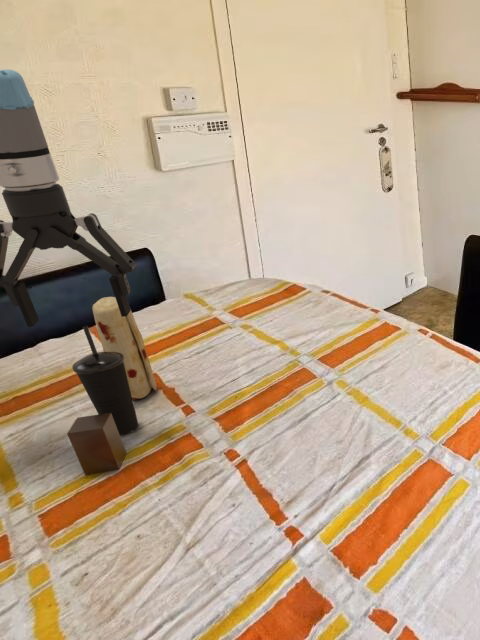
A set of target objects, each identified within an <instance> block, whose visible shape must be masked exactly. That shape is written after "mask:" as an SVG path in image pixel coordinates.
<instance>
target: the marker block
mask: <svg viewBox="0 0 480 640" xmlns="http://www.w3.org/2000/svg"><path fill="white" fill-rule="evenodd" d="M66 435H67V437H68V440H69V441H70V444H71V446H72V448H73V450H74V453H75V455H76V458H77V459H78V462H79V464H80V467H81V469H82V471H83V473H84V475H85V476H87V475H88V476H89V475H93V474H98V473H99V474H100V473H105V472H111V471H117V470H120V468H121V466H122V463H123V461H124V459H125V457H126V455H127V451H126V448H125V445H124V442H123V441H122V440H123V439H122V437H121V435H119V432H118V429H117V427H116V424H115V422H114V419H113V416H112V414H111V413H106V414H93V415H85V416H81V417H80V416H79V417H77V418H76V419H75V420H74V422H73V423H72V425H71V427H70V428H69V429H68V431H67V433H66Z"/></svg>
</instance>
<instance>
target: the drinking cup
mask: <svg viewBox="0 0 480 640" xmlns="http://www.w3.org/2000/svg"><path fill="white" fill-rule="evenodd" d="M82 329H83V332H84V335H85V337H86V340H87V343H88V345H89V347H90V350H91V352H92V353H90V354H87V355H85V356H83V357H82V358H81V359H78V360H77V361H75V362H74V363H73V364H72V366H71V368H72V371H73V372H74V373H75V374H76V375H77V377H78V379H79V381H80V382H81V384H82V386H83V388H84V390H85V392H86V395H88V398H89V400H90V402H91V403H92V406H93V407H94V410H96V413H97V415H99V414H106V413H111V414H112V416H113V419H114V422H115V424H116V427H117V429H118V432H119V435H120V436H124V435H127V434H130V433H132V432H134V431H136V430H137V429H138V427H139V421H138V417H137V412H136V409H135V404H134V400H132V396H131V391H130V387H129V383H128V379H127V375H126V370H125V366H124V362H123V361H124V356H123V354H121V353H118V352H104V351H98V350H97V348H96V344H95V343H94V340H93V337H92V335H91V332H90V329H89V326H88V325H84V326H82Z"/></svg>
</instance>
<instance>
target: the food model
mask: <svg viewBox="0 0 480 640" xmlns="http://www.w3.org/2000/svg"><path fill="white" fill-rule="evenodd" d="M91 309H92V315H93V318H94V322H95V326H96V329H97V334H98V337H99V340H100V344H101V346H102V347H101V348H102V350H103V352H118V353H121V354H123V356H124V361H123V362H124V366H125V370H126V375H127V379H128V383H129V387H130V391H131V396H132V400H133V401H135V400H141V399H143V398H145V397H146V396H148V395H149V394H150V392H151V391H152V389H153V391H156V390H157V388H158V387H157V382H156V378H155V375H154V372H153V369H152V366H151V362H150V359H149V356H148V352H147V349H146V346H145V341H144V339H143V336H142V333H141V331H140V329H139V326H138V324H137V322H136V319H135V317H134V314H133V311H132V310H131V311H130V312H129V314H128V315H127V316H124V317H122V316H121V313H120V310H119V307H118V304H117V301H116V298H115V296H106V297H101V298H100V299H98V300H97V301H96V302H95V303H94V304H92V307H91Z"/></svg>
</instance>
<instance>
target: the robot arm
mask: <svg viewBox="0 0 480 640" xmlns="http://www.w3.org/2000/svg"><path fill="white" fill-rule="evenodd" d="M29 92H30V91H29V89H28V87H27V85H26V82H25V79H24V78H23V76H22V75H21V74H20V72H18V71H16V70H14V69H0V187H1V188H4V189H3V190H2V192H1V196H2V197H3V200H4V202H5V206H6V207H7V211H8V213H9V214H10V216H11V220H12V222H10V221H9V222H8V221H4V220H3V219H0V286H1V287H3V288H4V290H5V292H6V295H7V297H8V299H9V302H10V303H11V305H12V306H13V307H19V309H20V313H21V315H22V316H23V319H24V321H25V323H26V327H27V328H30V327H34V326H35V325H37V323H38V322H39V321H40V318H39V316H38V314H37V311H36V308H35V306H34V303H33V301H32V298H31V296H30V293H29V291H28V288H27V286H26V284H25V282H24V281H23V282H18V281H19V278H20V276H21V275H22V273H23V271H24V269H25V267H26V265H27V264H28V261H29V260H30V258H31V256H32V255H33V253H34V251H35V250H36V249H39V250H40V251H43V250H49V249H64V248H65V247H69V248H70V249H71V250H74V251H76V252H78V253H79V254H81V255H83V256H84V257H86V259H88V260H90V261H91V262H93V263H94V264H96V265H97V266H98V267H100V268H101V269H102V270H104V271H106V272H107V273H109V274H110V277H109V279H108V281H109V284H110V286H111V289H112V292H113V295H114V297H115V298H116V301H117V304H118V307H119V310H120V313H121V316H122V317H124V316H127V315H128V314H129V312H130V311H132V309H131V307H130V303H129V301H128V297H127V296H129V295H130V293H131V286H130V284H129V281H128V277H127V274H128V273H131V272H133V271H134V269H135V268H136V267H137V264H136V262H135V261H134V260H133V259H132V258H131V256H130V255H129V254H127V252H126V251H125V250H124V249H123V248H122V247H121V246H120V245H119V244H118V243H117V241H116V240H114V238H113V237H112V236H111V235H110V234H109V232H107V231H106V230H105V228H103V226H102V225H101V223H100V220H99V218H98V216H97V215H96V214H95V213H92V212H91V213H89V214H87V215H85V216H79V217H76V216H74V214H73V213H72V211H71V207H70V205H69V202H68V199H67V196H66V193H65V191H64V187H63V186H62V185H61V184H59V183H57V182H58V181H59V180H60V175H59V174H58V170H57V168H56V166H55V162H54V160H53V157H52V154H51V152H50V149H49V145H48V142H47V139H46V136H45V133H44V130H43V127H42V124H41V121H40V119H39V116H38V113H37V109H36V106H35V100H34V99H33V97H32V96H31V94H30V93H29ZM78 227H81V228H82V229H83V230H84V231H85V232H88V233H89V234H90V235H91V237H92V238H93V239H94V240H95V241H96V242H97V243H98V244H99V245H100V246H101V247H102V248H103V249H104V251H105V252H106V253H108V254H106V253H104V252H103V251H101V250H100V249H98V248H97V247H96V246H94V245H93V244H91V243H90V242H89V241H88V240H87V239H86V237H84V236H82V235H81V234H79V233H78V232H77V229H78ZM13 232H14V233H16V235H18V236H19V237H21V238H22V239H23V241H22V243H21V244H20V246H19V248H18V251H17V253H16V255H15V257H14V259H13V261H12V262H11V264H10V266H9V268H8V270H7V272H6V273H5V275H4V269H5V263H6V257H7V252H8V251H7V250H8V246H9V239H10V236H11V235H12V233H13ZM17 282H18V283H17Z"/></svg>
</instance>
